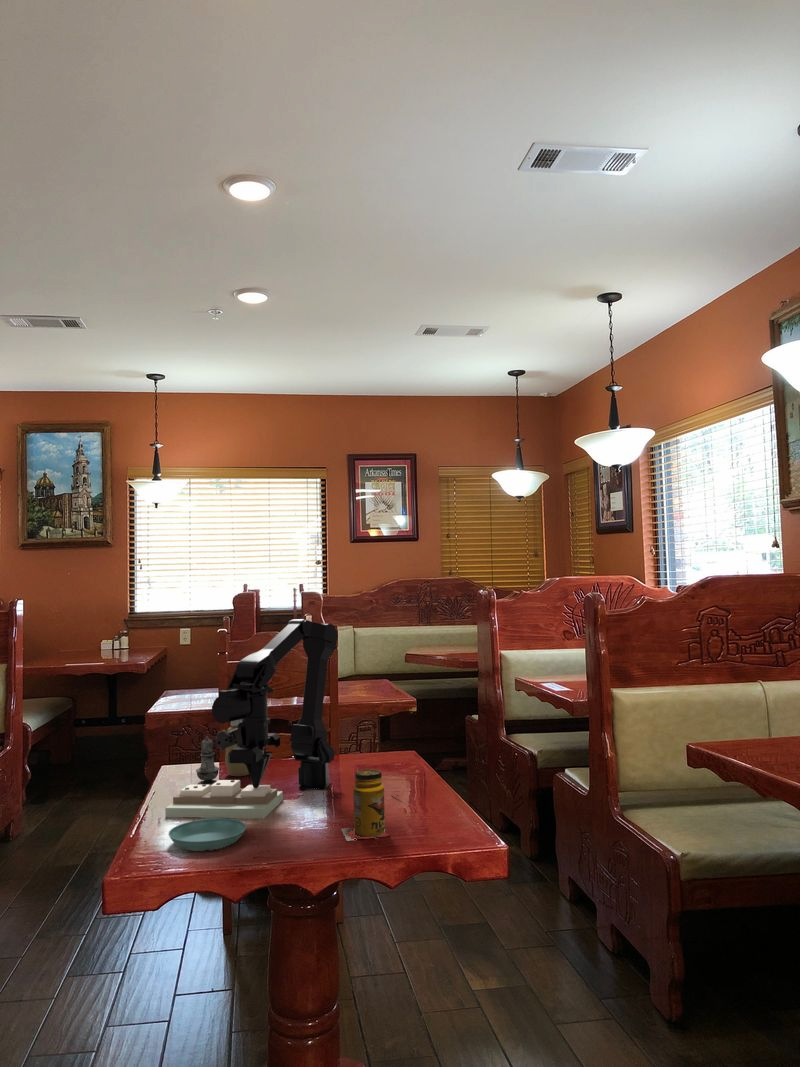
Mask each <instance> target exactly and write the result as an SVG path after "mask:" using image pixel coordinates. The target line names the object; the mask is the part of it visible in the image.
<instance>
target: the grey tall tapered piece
mask: <svg viewBox="0 0 800 1067" xmlns="http://www.w3.org/2000/svg"><path fill="white" fill-rule="evenodd" d="M200 744H201V745H200V748H201V752H200V754H199V756H200V757H201V758H200V760H201V763H200V767H199V768H197V769H195V773H196V775H197V777H198V779H199V780H201V781H199V782H198V783H197V784H196V785H204V784H205V785H212V784H214V783H215V782H217V781H218V780H216V778H217V777H218V775H219V771H220V769H221V768H220V767H218V766H216V765H215V762H214V758H215V754H216V753H215V752H214V742H213V740H212V739H210V738H209V735H206V736H205V739H203V740H202V741H201V742H200Z"/></svg>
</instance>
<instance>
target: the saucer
mask: <svg viewBox="0 0 800 1067" xmlns="http://www.w3.org/2000/svg"><path fill="white" fill-rule="evenodd" d="M246 829H247V825H246V824H245V823H244V822H243V821H241V820H238V819H235V818H202V819H198V820H192V821H188V822H184V823H180V824H179V825H176V826H174V827H172V828H170V830H169V831H168V836H169V838H170V839H171V840H172V842H173V843H174V844H175V845H176V846H177V847H179V848H181V849H182V850H185V851H190V850H191V852H206V851H205V850H209V851H214V849H216V850H220V849H224V848H227V847H229V846H232V845H234V844H235V843H236V842H237V841H238V840H239V839H240V838H241V837H242V835H243V834H244V832H245V831H246ZM231 844H232V845H231ZM226 846H227V847H226ZM223 847H224V848H223ZM219 848H220V849H219Z"/></svg>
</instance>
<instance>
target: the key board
mask: <svg viewBox="0 0 800 1067" xmlns="http://www.w3.org/2000/svg"><path fill="white" fill-rule="evenodd" d="M243 789H244V788H240V792H239V793H238V794H236V795H235V796H234V797H220V796H211V791H210V792H209V793H207V794H206V795H204V796H180V792H178V793H177V794H176V795H174V796H173V797H172V803H170V804H169V805H168V806H166V807H165V814H164V815H165V818H177V817H201V818H200V819H214V818H225V819H265V818H266V817H268V815H270V813H271V812H272V811H273V810H274V809H275V808H277V806H279V804H281V803H282V802H283V801H282V800H284V792H283V791H282V790H278V788H270V793H268V794H267V795H266V796H265V797H241V791H242V790H243ZM281 801H282V802H281ZM280 802H281V803H280Z"/></svg>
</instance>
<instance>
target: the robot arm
mask: <svg viewBox="0 0 800 1067" xmlns="http://www.w3.org/2000/svg"><path fill="white" fill-rule="evenodd" d="M338 632H339V631H338V630H337V629H336V626H335V625H334V624H332V623H318V622H314V621H311V620H309V619H306V618H305V619H304V618H300V619H299V618H298V619H297V618H295V619H291V620H289V621H288V622H287V625H286V626H285V627H284V628H283V629H282V630H281V631H279V632H278V633H277V634H276V636H274V637H273V638H272V639H271V640H270V641H269V642H268V643H267V644H266V645H265V646H264V647H263V648H262V649H260V650H258V651H256V652H253V653H251V654H249V655H247V656H245V657H244V658H242V659H240V660H239V662H238V663H236V666H235V667H236V668H235V670H234V672H233V675H232V677H231V678H230V681H229V682H228V685H227V688H226V690H219V691H218V696H217V697H216V698H215V699H214V700H213V703H212V706H211V713H212V716H213V717H212V718H214V720H215V721H216V722H217V723H219V724H223V725H224V724H228V723H231V721H236V720H240V719H242V721H241V722H239V723H238V725H237V727H238V728H236V729H234V730H231V731H229V732H227V729H223V730H221V731H218V732H217V733H216V737H215V738H214V740H215V742H214V745H215V746H216V747H218V748H219V751H226V748H227V747H230V746H233V745H235V744H237V747H235V748H234V749H232V750H231V751H230V752H229V753H228V763H244V764H245V765H246V767H247V769H248V772H249V778H250V782H251V785H253V787H259V785H261V782H262V779H263V776H264V775H265V772H266V770H267V767H268V765H269V763H270V760H271V757H272V755H273V751H267V750H268V749H267V748H265V747H267V746H274V748H278V747H280V746H281V736H279V735H278V733H276V732H271V733H269V729H268V728H269V727H268V726H269V725H270V724H271V718H268V714H269V713H268V694H273V693H274V691H275V690H274V689H273V688H272V687H271V686H269V684H268V683H270V681H271V680H272V678H273V676H274V675H276V672H277V666H278V664H279V662H281V661H282V660H283V659H284V658H285V657H286V656H287V655H288V654H289V653H290V652H291V651H292V650H293V649H294V648H295V647H296V646H297V645H298V644H299V643H300V642H301V641H302V648H303V651H304V653H305V655H306V658H307V663H306V672H305V679H304V680H305V681H304V690H303V699H302V709H301V716H300V719H299V720H298V722H297V724H294V723H293V724H291V725H292V726H291V727H290V737H289V742H290V749H291V751H292V754H293V758H294V761H295V762H300V765H299V767H298V768H297V769H298V773H297V774H298V785H299V786H298V789H299V790H326V789H327V788H328V786H330V784H331V783H332V782H331V780H329V779H330V777H329V774H330V773H329V772H330V771H329V764H330V763H332V761H334V759H335V754H336V751H335V750H334V748H333V747H332V746H331V745H330V743H329V742H328V732H327V728H326V727H325V724H324V721H323V708H324V701H325V693H326V692H325V691H326V681H327V672H328V662H329V659H330V658H331V657H332V655H333V653H334V652H335V650H336V647H337V642H338V637H339V633H338Z"/></svg>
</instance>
